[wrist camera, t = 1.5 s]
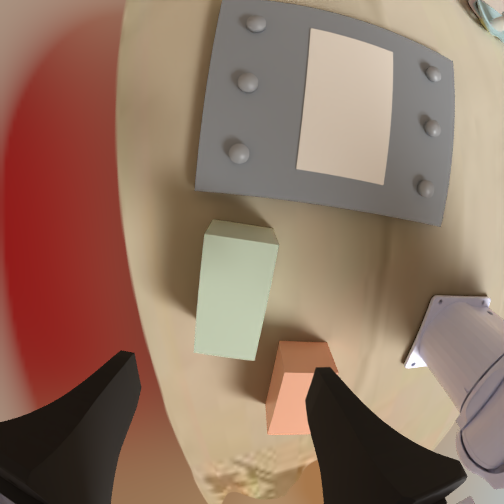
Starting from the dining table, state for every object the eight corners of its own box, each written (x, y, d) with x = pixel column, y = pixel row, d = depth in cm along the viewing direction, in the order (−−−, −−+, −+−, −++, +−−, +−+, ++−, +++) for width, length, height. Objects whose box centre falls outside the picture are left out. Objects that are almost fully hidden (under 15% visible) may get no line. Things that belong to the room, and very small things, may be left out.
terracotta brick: (326, 341, 22) (338, 372, 18) (305, 403, 24) (311, 433, 20) (279, 339, 22) (284, 372, 18) (265, 402, 24) (267, 434, 20)
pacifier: (457, -12, 11) (472, 29, 12) (488, -31, 5) (510, 12, 6) (498, 16, 11) (512, 55, 12) (529, 4, 5) (547, 47, 6)
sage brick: (272, 227, 19) (279, 245, 15) (253, 327, 21) (254, 360, 17) (213, 218, 18) (204, 233, 15) (202, 320, 21) (193, 352, 17)
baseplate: (446, 63, 14) (457, 59, 13) (433, 224, 18) (445, 229, 17) (224, 4, 13) (222, -7, 12) (197, 189, 18) (192, 191, 16)
